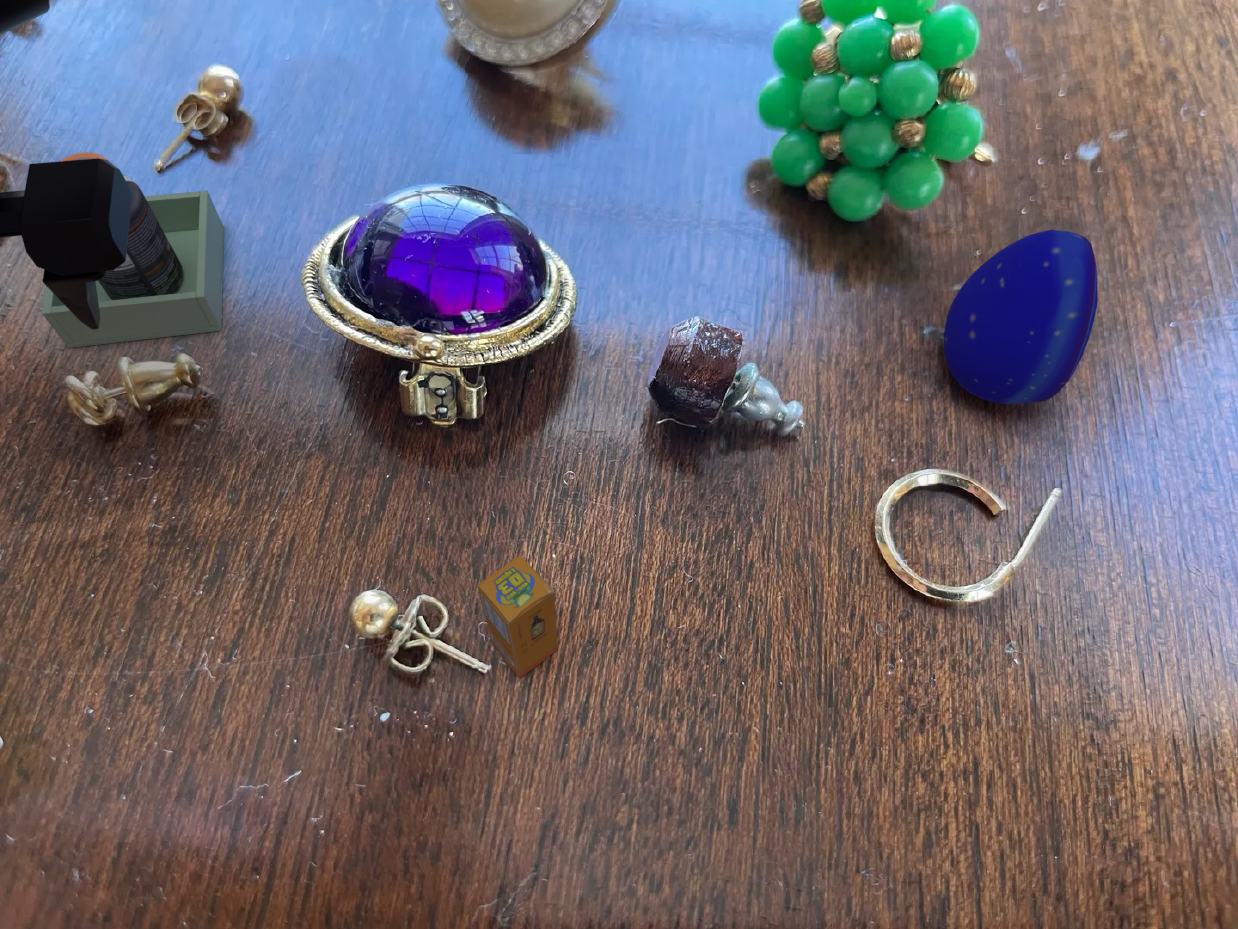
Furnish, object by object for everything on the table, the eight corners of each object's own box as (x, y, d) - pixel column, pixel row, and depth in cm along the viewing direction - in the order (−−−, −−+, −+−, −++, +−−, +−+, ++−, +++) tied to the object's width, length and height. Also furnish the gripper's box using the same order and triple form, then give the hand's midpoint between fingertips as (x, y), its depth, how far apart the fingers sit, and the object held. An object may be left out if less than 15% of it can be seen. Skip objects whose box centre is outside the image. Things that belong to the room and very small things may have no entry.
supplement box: (527, 611, 59) (523, 549, 50) (559, 650, 58) (560, 594, 49) (487, 640, 58) (475, 583, 49) (518, 681, 57) (512, 629, 48)
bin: (68, 348, 67) (41, 313, 64) (82, 240, 72) (57, 203, 69) (221, 331, 69) (204, 296, 65) (224, 227, 74) (207, 190, 71)
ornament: (1046, 437, 69) (1160, 314, 56) (930, 423, 69) (1018, 297, 56) (1027, 327, 74) (1127, 192, 61) (920, 314, 74) (997, 176, 61)
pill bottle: (159, 242, 72) (98, 128, 62) (200, 283, 70) (142, 172, 60) (91, 279, 70) (16, 166, 60) (131, 323, 68) (60, 213, 58)
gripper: (70, -13, 44) (184, 218, 57) (-360, 10, 41) (-133, 248, 54) (45, 139, 38) (177, 354, 52) (-452, 177, 36) (-175, 395, 49)
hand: (13, 332), depth 52 cm, fingers open, 9 cm apart
